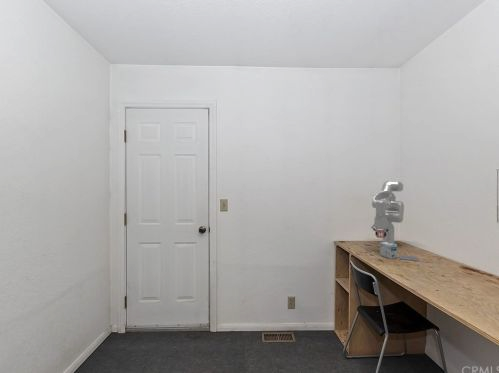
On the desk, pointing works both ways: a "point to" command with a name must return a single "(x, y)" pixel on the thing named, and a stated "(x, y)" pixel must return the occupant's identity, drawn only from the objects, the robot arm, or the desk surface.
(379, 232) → the reddish brown cube
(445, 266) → the desk surface
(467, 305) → the desk surface
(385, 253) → the light bulb box
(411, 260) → the blue-gray flat panel
